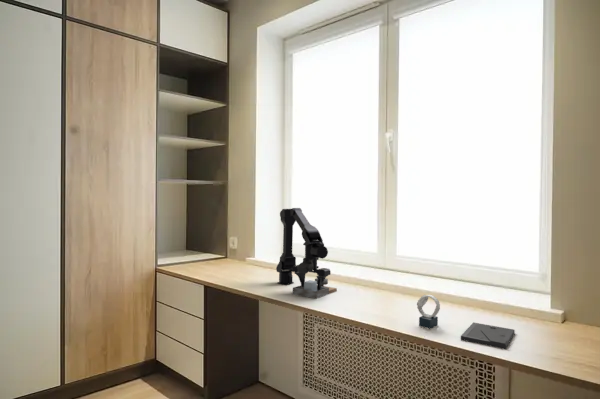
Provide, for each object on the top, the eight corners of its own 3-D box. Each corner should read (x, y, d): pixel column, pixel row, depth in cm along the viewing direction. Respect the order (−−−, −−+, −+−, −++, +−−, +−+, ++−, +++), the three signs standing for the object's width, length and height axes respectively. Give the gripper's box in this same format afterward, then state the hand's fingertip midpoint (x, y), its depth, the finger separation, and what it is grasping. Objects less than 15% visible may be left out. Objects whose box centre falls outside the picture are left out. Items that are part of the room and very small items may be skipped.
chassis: (292, 294, 191) (292, 287, 190) (313, 287, 205) (313, 281, 205) (316, 298, 182) (316, 291, 182) (336, 291, 197) (336, 284, 197)
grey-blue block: (304, 294, 190) (304, 282, 190) (309, 292, 194) (310, 280, 194) (311, 296, 188) (311, 283, 188) (316, 293, 192) (317, 281, 192)
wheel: (312, 283, 197) (312, 279, 197) (319, 281, 202) (319, 276, 202) (323, 285, 194) (323, 280, 194) (330, 283, 199) (330, 278, 199)
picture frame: (505, 351, 124) (514, 335, 138) (506, 343, 124) (514, 328, 138) (460, 341, 131) (473, 327, 146) (460, 334, 131) (473, 321, 146)
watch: (421, 321, 150) (422, 292, 150) (442, 326, 145) (442, 295, 145) (414, 324, 147) (414, 294, 146) (434, 329, 141) (435, 298, 141)
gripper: (285, 255, 190) (284, 288, 190) (318, 259, 179) (317, 294, 179) (299, 253, 199) (298, 284, 199) (331, 256, 188) (330, 290, 188)
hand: (310, 288), depth 191 cm, fingers open, 9 cm apart
